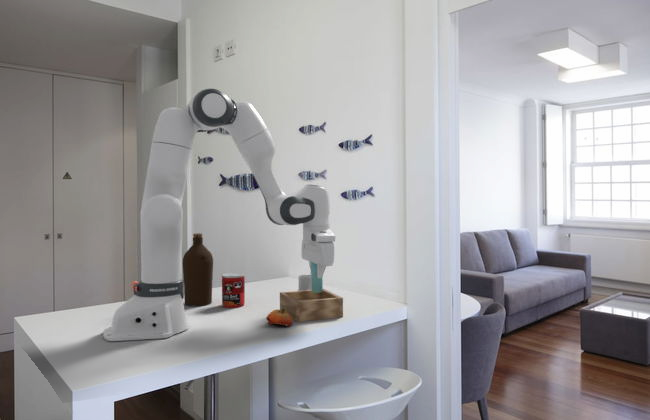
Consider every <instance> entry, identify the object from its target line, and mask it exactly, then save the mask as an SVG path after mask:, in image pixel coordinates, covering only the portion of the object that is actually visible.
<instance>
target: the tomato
mask: <svg viewBox="0 0 650 420" xmlns="http://www.w3.org/2000/svg"><path fill="white" fill-rule="evenodd" d="M265 319H266V321H268V324H269V325H272V324H276V325H282V326H287V327H292V325H293V320H292V318H291V316H290V314H288V313H287V312H286V311H285V310H284V308H282V310H281V311H280V309H273V310H272V311H270V312H269V314H268V315H267V316H266V318H265Z"/></svg>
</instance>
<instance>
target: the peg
mask: <svg viewBox="0 0 650 420" xmlns="http://www.w3.org/2000/svg"><path fill="white" fill-rule="evenodd" d="M317 269H318V267H317V264H315V263H313V262H311V270H310V275H311V276H312V292H313V293H321V292H323V289H324V287H323V282H324V281H323V277H322V278H318V277H316V272H317Z"/></svg>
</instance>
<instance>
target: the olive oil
mask: <svg viewBox="0 0 650 420" xmlns="http://www.w3.org/2000/svg"><path fill="white" fill-rule="evenodd" d="M192 236H193V237H192V245H191V246H190V247H189V248H188V250H187V251H186V252H185V253H184V254H183V256H182V279H183V280H184V298H183V300H184V305H185V306H188V307H202V306H203V307H204V306H207V305H211V304H212V303H213V302H212V301H213V277H214V276H213V274H214V273H213V272H214V257H213V255H212V252H210V250H208V248H207V247H206V246H205V245H204V240H203V239H204V238H203V233H201V232H200V233H193V235H192Z"/></svg>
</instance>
